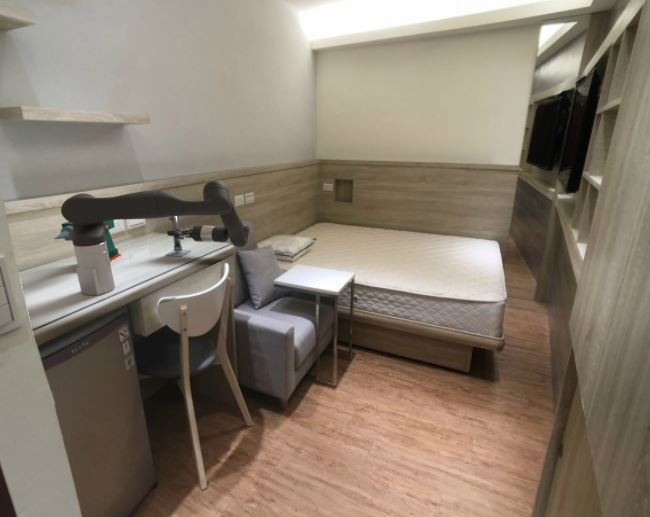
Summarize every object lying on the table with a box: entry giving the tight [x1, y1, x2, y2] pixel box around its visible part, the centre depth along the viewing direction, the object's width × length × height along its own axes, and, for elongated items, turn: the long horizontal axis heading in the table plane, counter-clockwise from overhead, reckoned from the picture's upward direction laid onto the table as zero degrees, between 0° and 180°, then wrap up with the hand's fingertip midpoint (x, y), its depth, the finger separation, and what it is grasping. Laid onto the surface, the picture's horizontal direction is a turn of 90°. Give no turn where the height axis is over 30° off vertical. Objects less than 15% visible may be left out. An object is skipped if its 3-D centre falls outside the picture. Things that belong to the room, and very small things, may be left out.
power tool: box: [53, 220, 122, 263], centre depth 139 cm, size 32×7×20 cm, turn 0°
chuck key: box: [168, 216, 183, 251], centre depth 158 cm, size 7×4×16 cm, turn 172°
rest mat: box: [164, 249, 192, 257], centre depth 161 cm, size 8×8×1 cm
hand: (169, 232), depth 159 cm, fingers closed on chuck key, 2 cm apart
